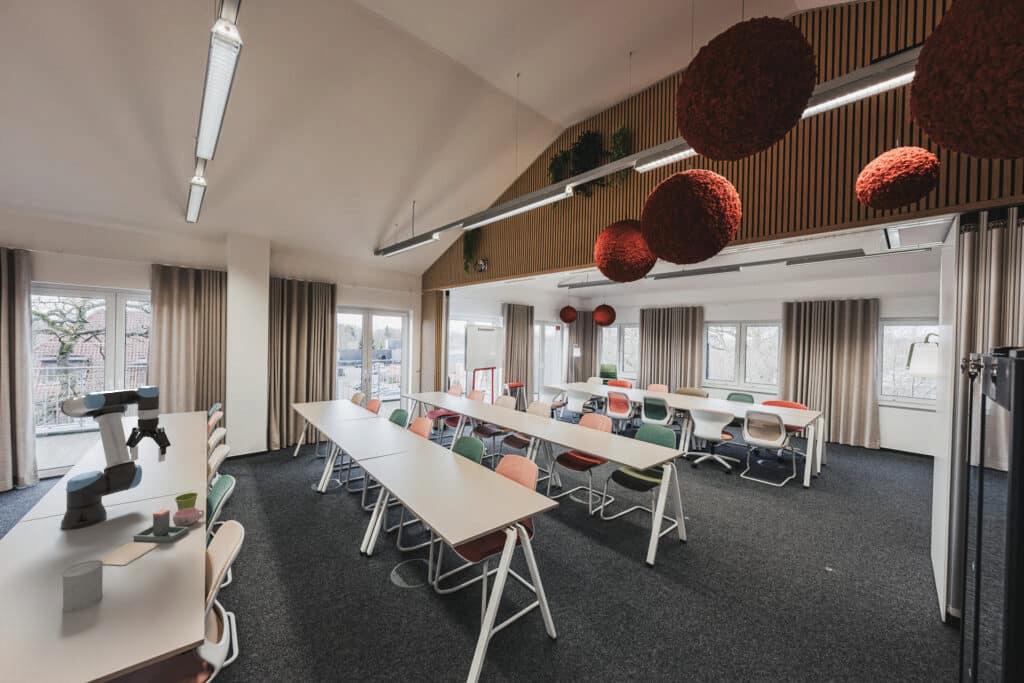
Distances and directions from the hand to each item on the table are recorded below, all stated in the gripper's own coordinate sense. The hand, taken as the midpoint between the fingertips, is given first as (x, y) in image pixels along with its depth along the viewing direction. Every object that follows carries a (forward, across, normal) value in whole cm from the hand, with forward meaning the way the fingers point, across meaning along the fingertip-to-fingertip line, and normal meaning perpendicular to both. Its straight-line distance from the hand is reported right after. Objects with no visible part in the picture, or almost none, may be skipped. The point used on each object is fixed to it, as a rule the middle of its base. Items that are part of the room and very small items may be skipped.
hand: (148, 460), depth 189 cm
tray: (+32, +16, -10) cm, 37 cm away
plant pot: (+32, +8, +13) cm, 35 cm away
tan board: (+32, +15, -24) cm, 42 cm away
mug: (+32, +18, +3) cm, 37 cm away
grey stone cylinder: (+32, +29, -53) cm, 68 cm away
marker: (+31, +16, -10) cm, 37 cm away
